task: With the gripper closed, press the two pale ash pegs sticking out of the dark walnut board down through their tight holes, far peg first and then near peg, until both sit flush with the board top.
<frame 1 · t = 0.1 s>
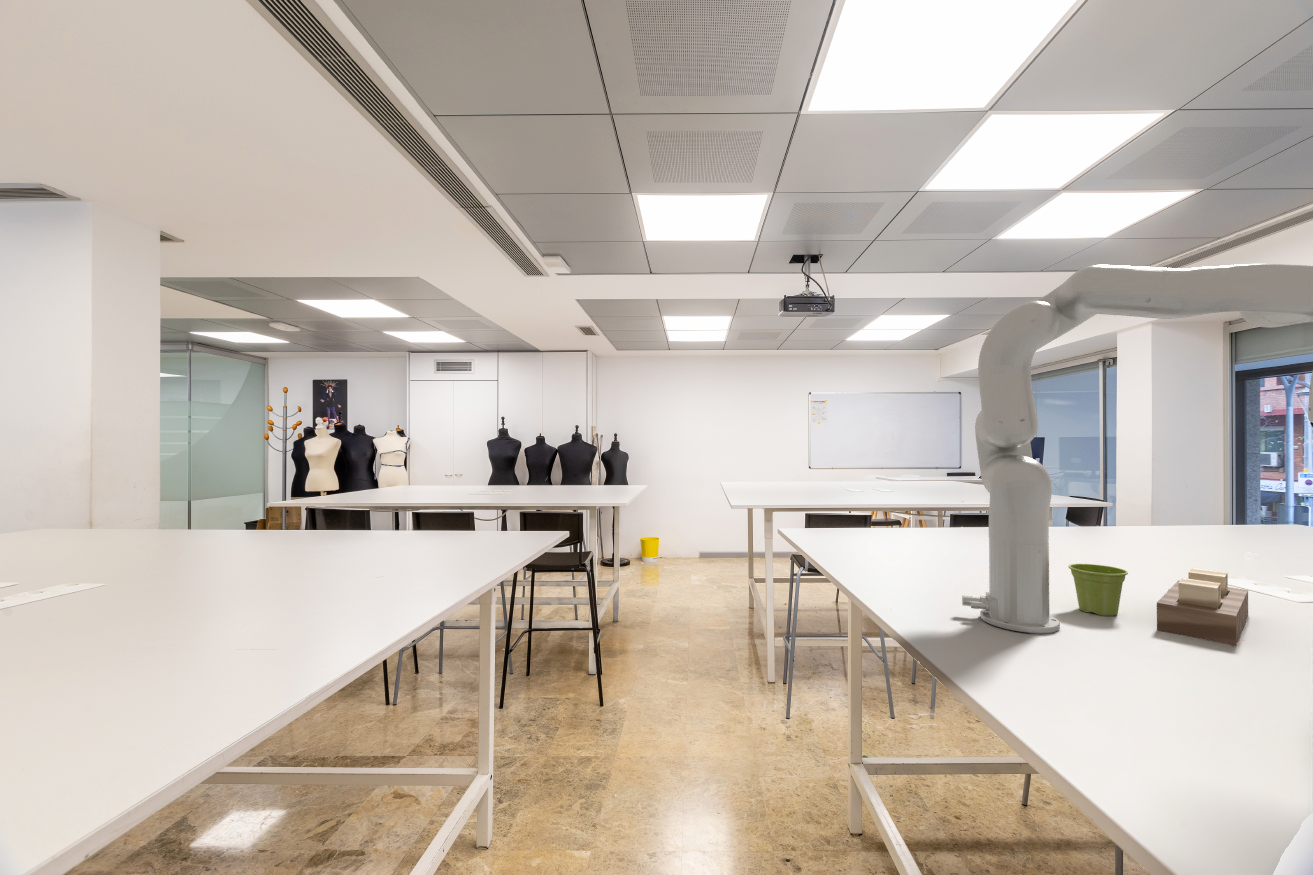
peg near: (1199, 596, 101), point 6 cm above the table, slide at 3.5 cm
peg board: (1204, 622, 105), on the table
plant pot: (1097, 612, 112), on the table
peg far: (1208, 584, 109), point 6 cm above the table, slide at 3.5 cm
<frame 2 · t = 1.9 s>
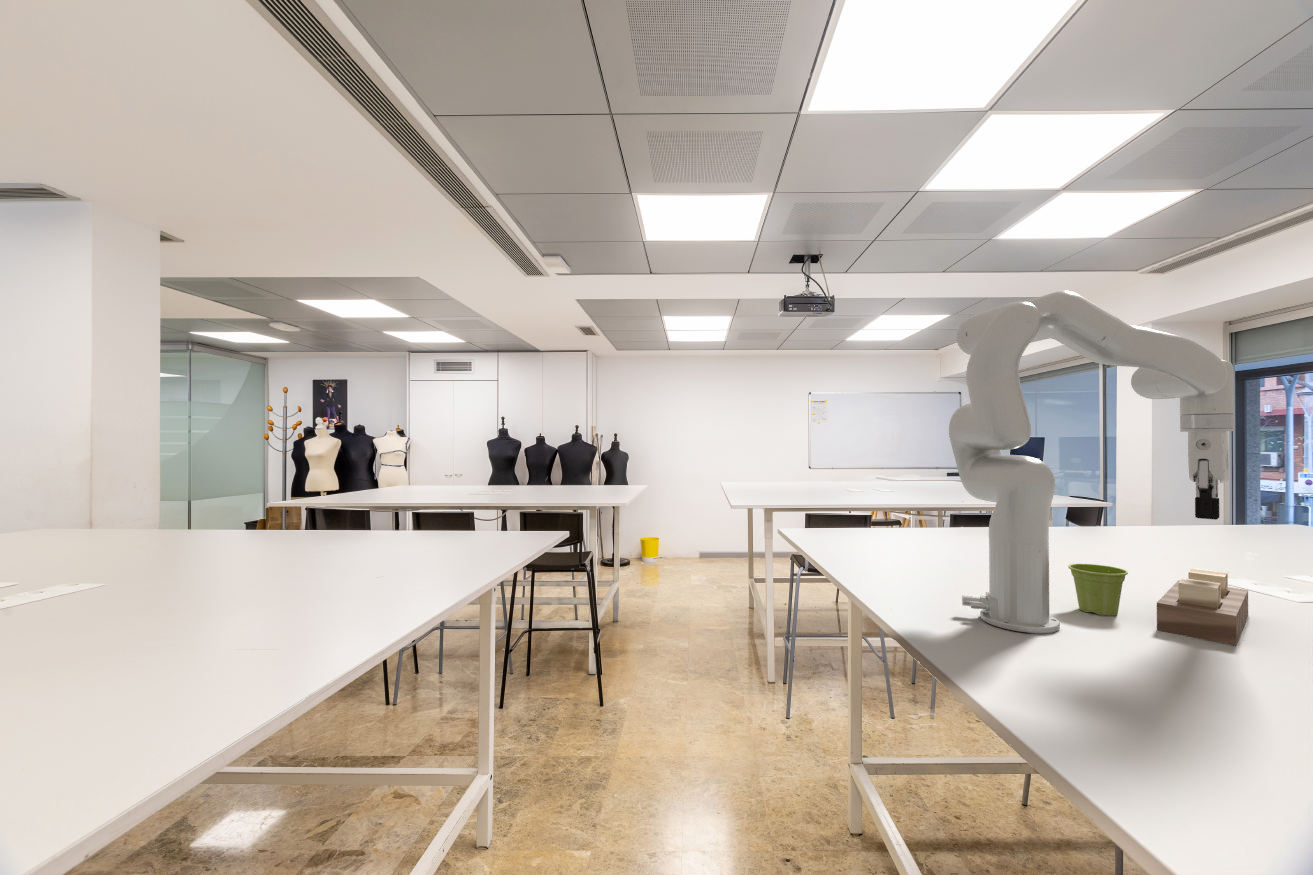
hand: (1207, 517, 109), 19 cm above the table, fingers closed
nothing on the table moved.
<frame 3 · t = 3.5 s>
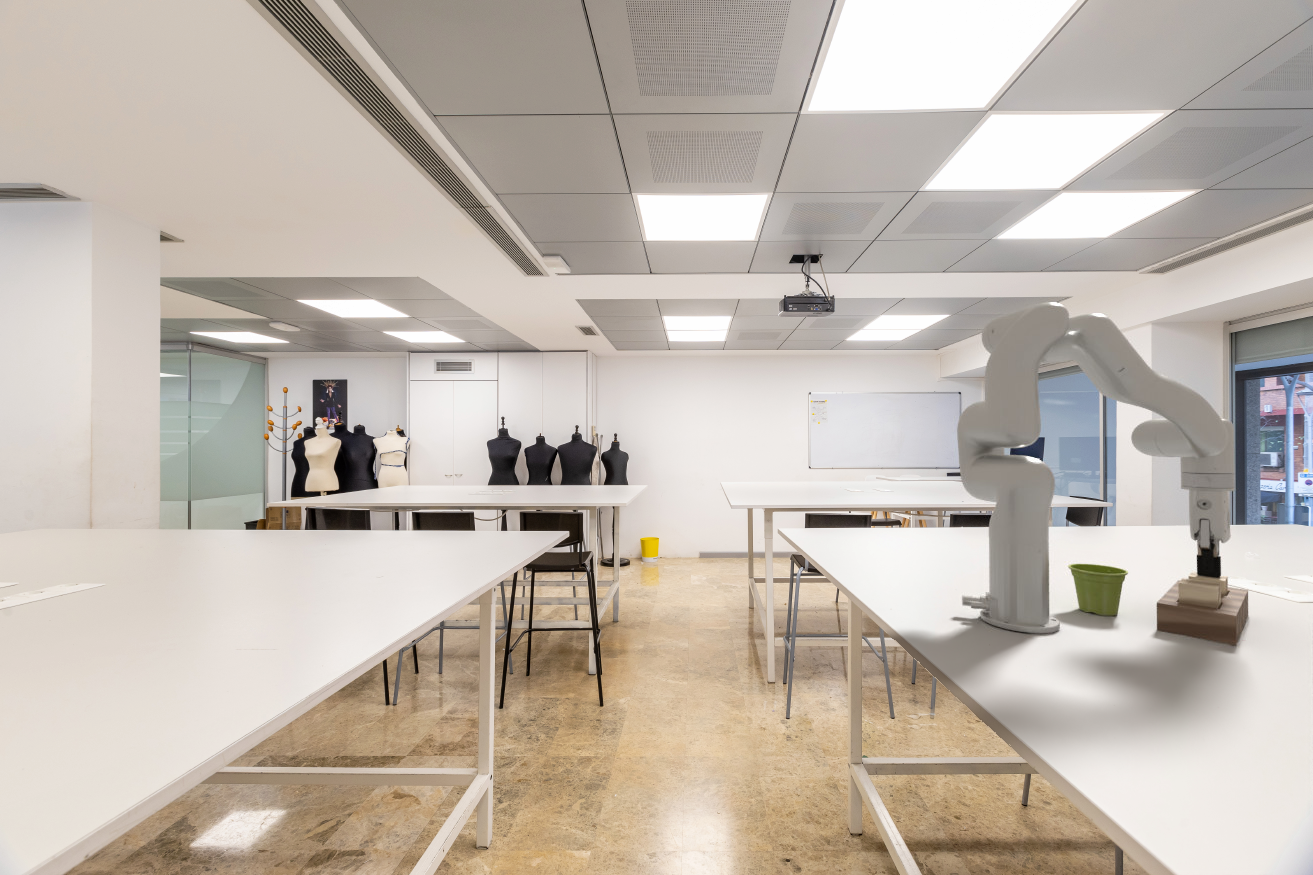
hand: (1209, 575, 109), 8 cm above the table, fingers closed
peg far: (1208, 588, 109), point 5 cm above the table, slide at 2.7 cm, touching gripper
everything else where it was.
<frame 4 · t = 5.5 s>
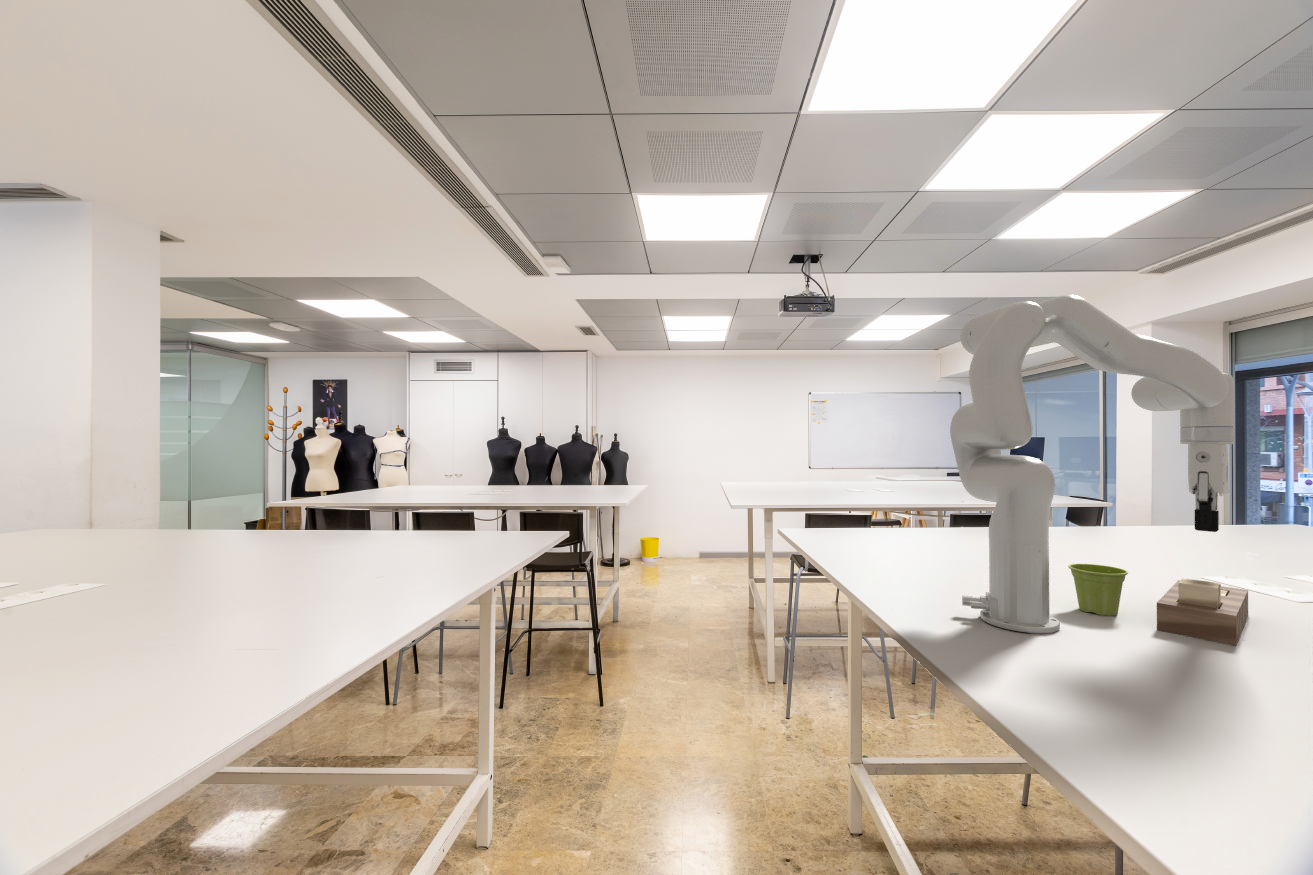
hand: (1206, 530, 109), 17 cm above the table, fingers closed
peg far: (1208, 602, 109), point 3 cm above the table, slide at -0.1 cm
everything else where it was.
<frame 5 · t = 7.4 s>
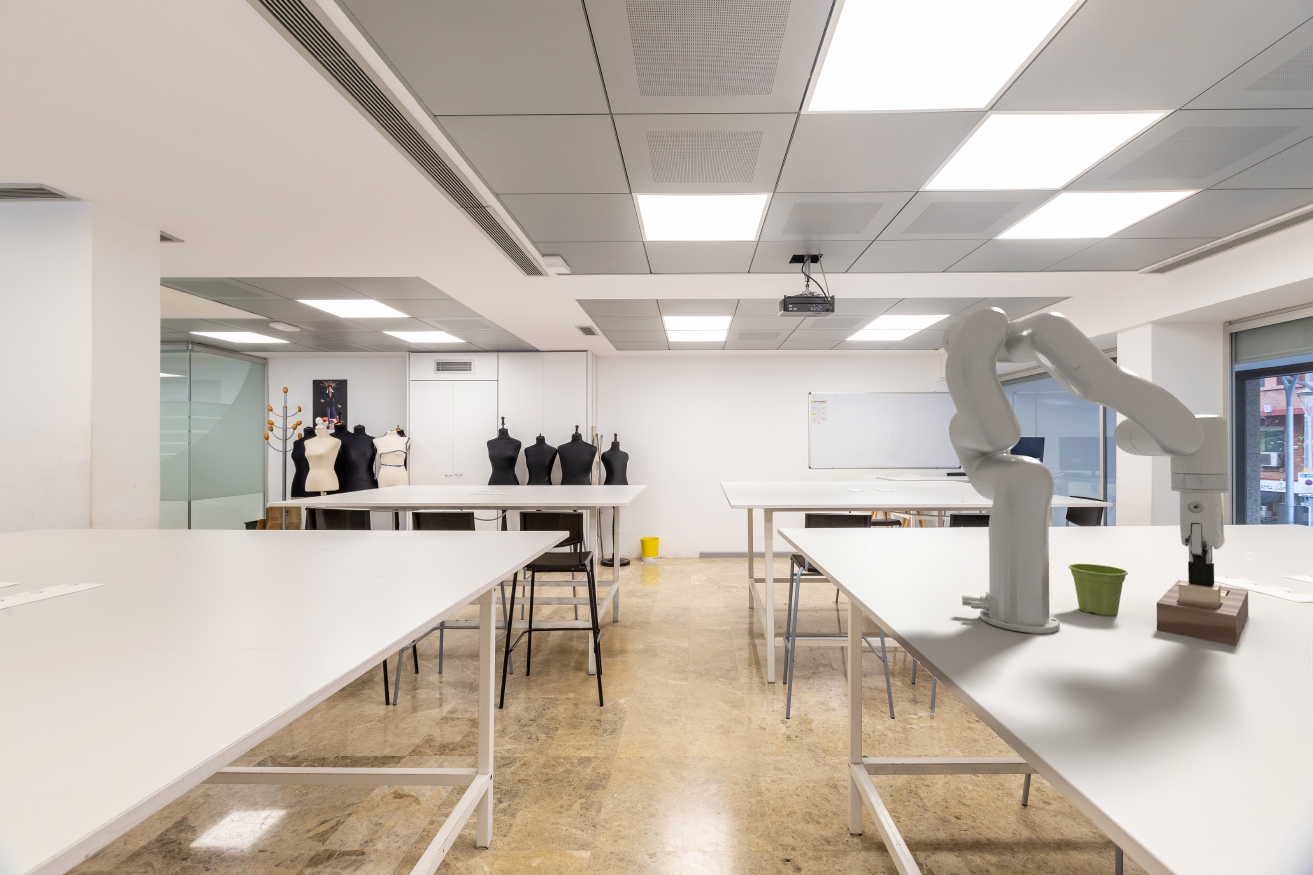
hand: (1201, 584, 101), 8 cm above the table, fingers closed
peg near: (1199, 597, 101), point 6 cm above the table, slide at 3.2 cm, touching gripper
everything else where it was.
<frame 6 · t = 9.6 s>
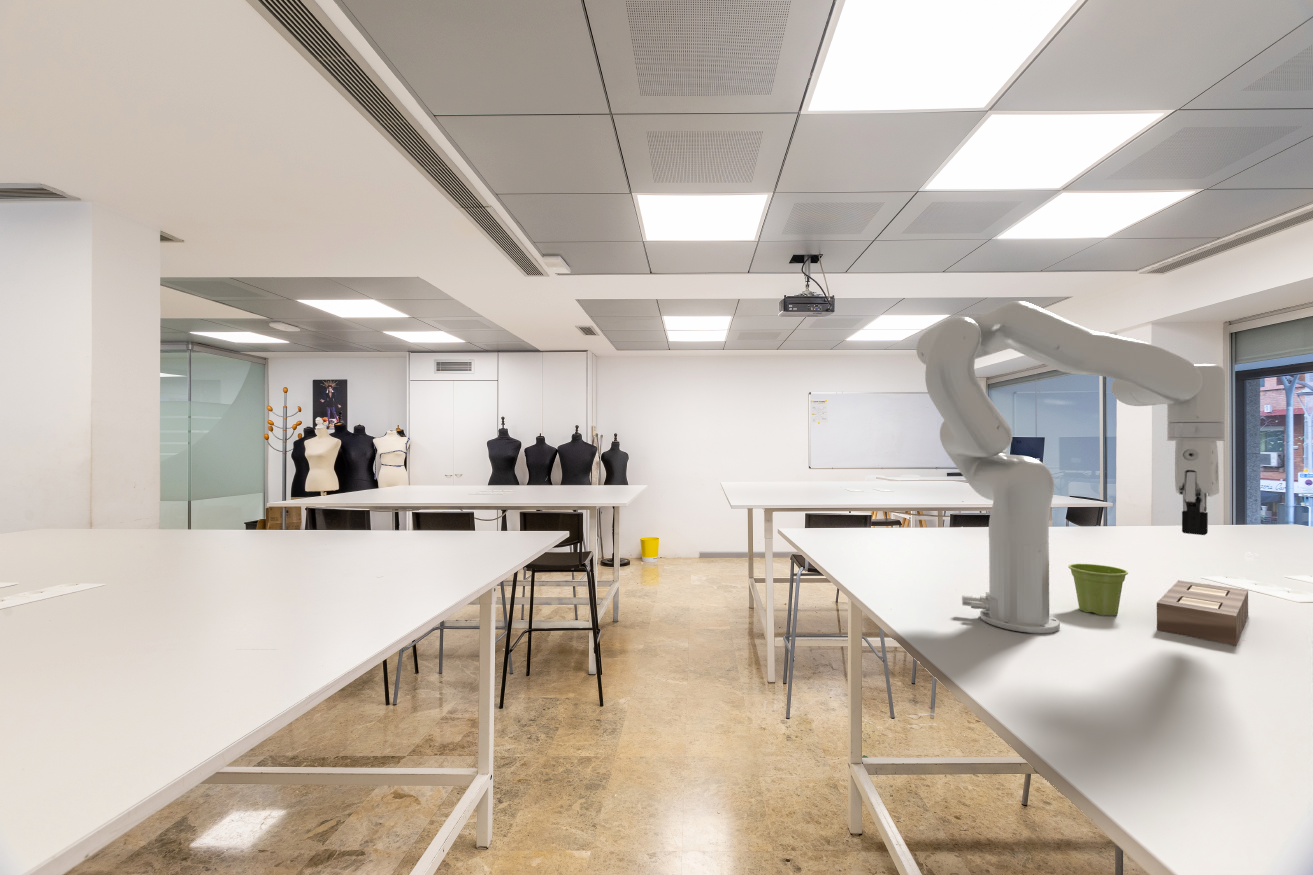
hand: (1194, 533, 101), 17 cm above the table, fingers closed
peg near: (1199, 615, 101), point 3 cm above the table, slide at -0.1 cm
everything else where it was.
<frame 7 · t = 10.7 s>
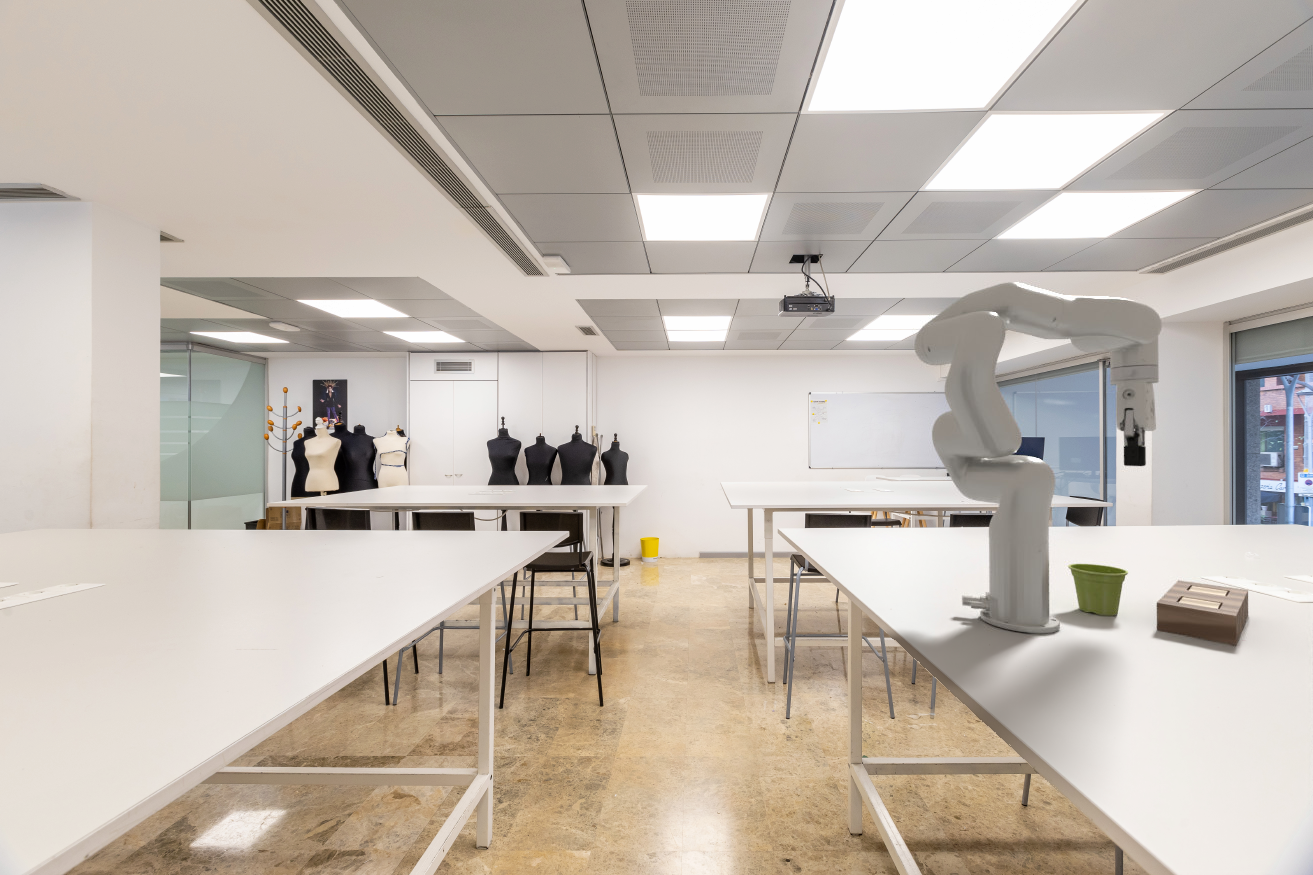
hand: (1134, 465, 114), 29 cm above the table, fingers closed
nothing on the table moved.
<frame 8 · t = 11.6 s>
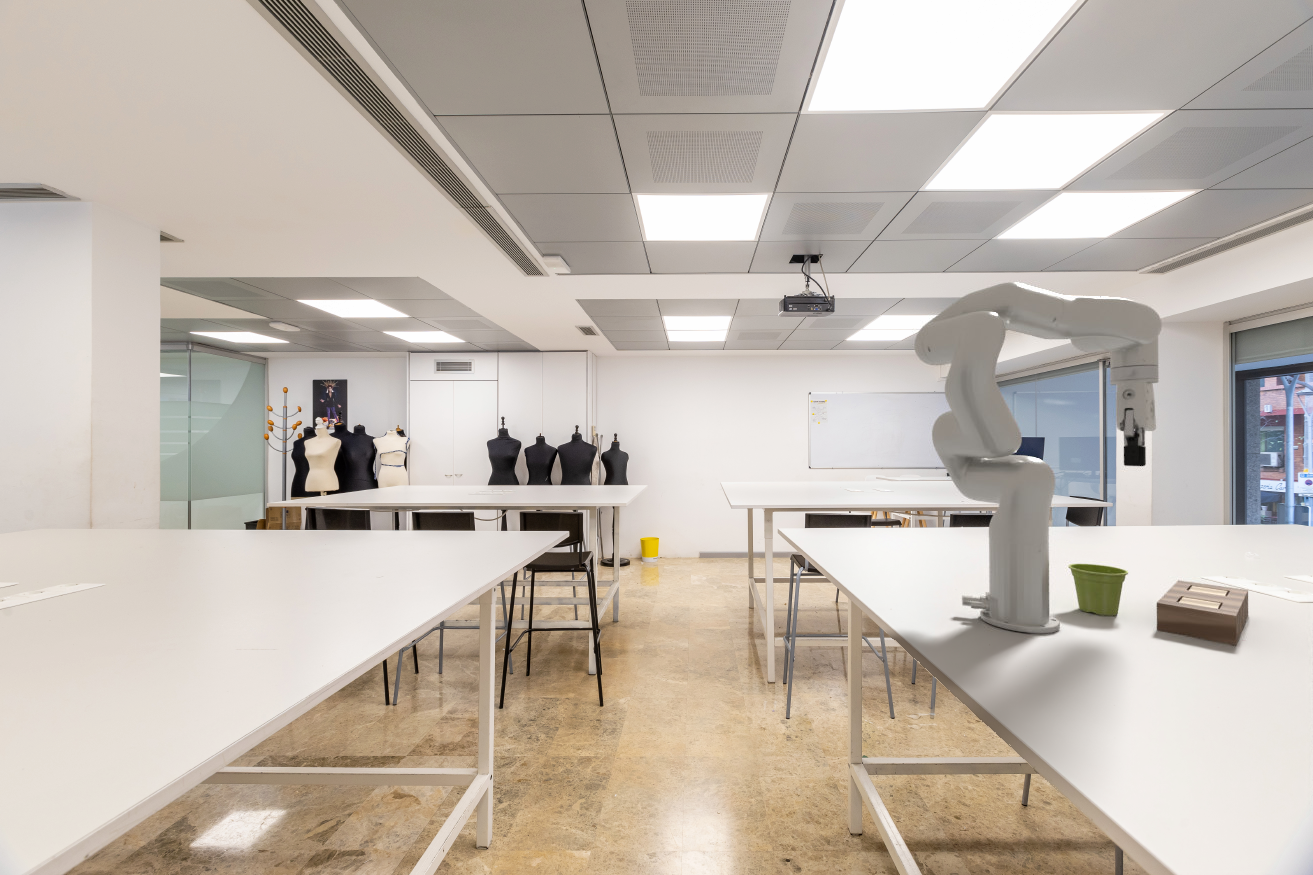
hand: (1134, 465, 114), 29 cm above the table, fingers closed
nothing on the table moved.
at the end: peg far slide at -0.1 cm; peg near slide at -0.1 cm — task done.
